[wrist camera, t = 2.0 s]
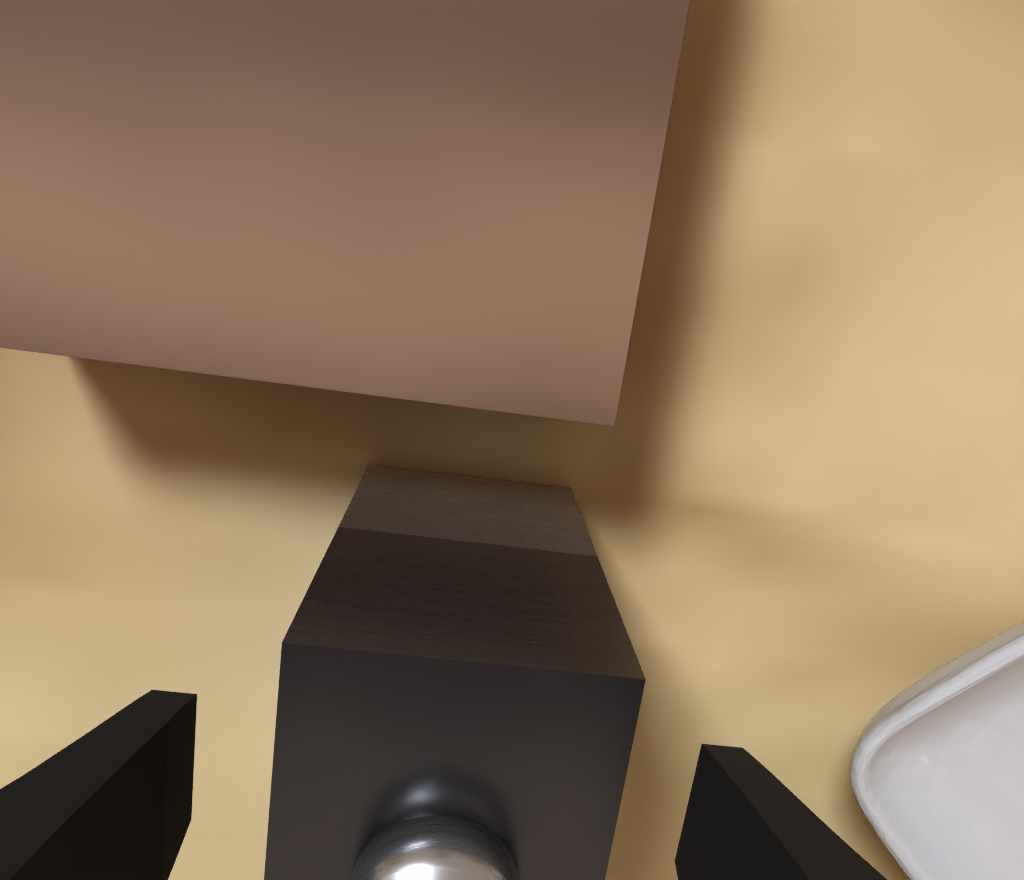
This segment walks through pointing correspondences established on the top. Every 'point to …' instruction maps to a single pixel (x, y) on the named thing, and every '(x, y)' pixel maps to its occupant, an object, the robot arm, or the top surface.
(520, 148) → the stand
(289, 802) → the block
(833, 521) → the top surface
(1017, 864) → the salad plate
